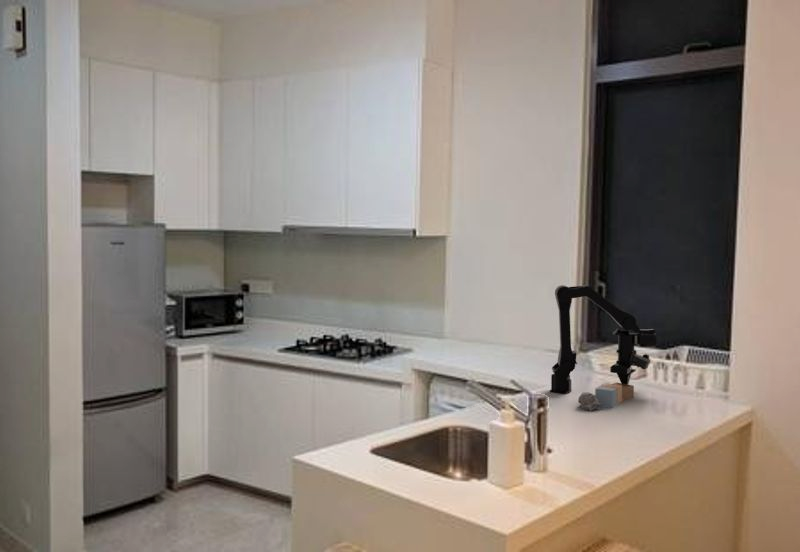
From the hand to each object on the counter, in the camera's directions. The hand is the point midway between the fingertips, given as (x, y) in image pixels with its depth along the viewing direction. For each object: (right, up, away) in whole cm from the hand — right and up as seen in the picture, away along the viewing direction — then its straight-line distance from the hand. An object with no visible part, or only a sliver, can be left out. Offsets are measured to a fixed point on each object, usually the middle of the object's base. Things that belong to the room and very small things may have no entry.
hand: (625, 388), depth 267 cm
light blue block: (-13, -3, -19) cm, 23 cm away
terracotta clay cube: (-9, -2, -14) cm, 17 cm away
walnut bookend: (-5, -2, -7) cm, 9 cm away
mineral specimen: (-19, -3, -22) cm, 30 cm away
